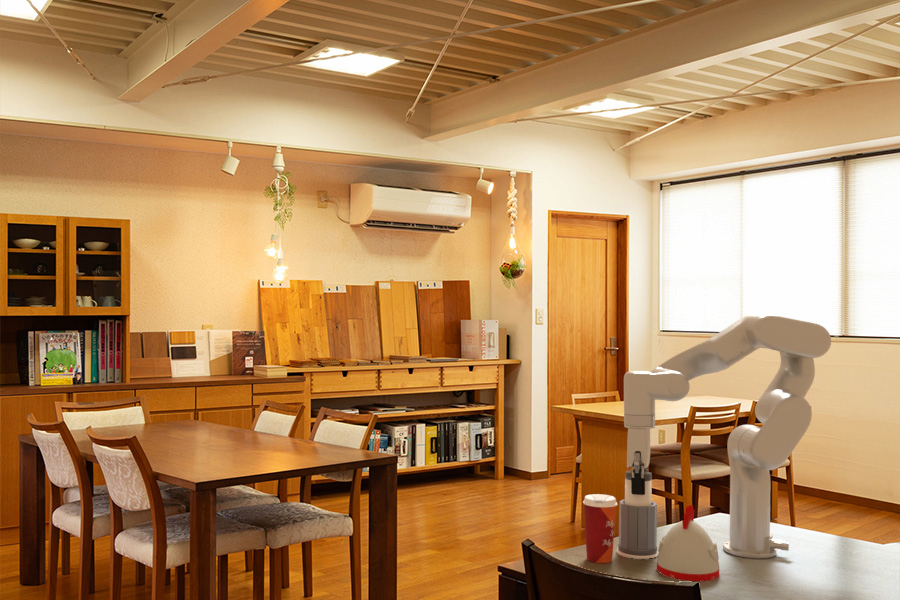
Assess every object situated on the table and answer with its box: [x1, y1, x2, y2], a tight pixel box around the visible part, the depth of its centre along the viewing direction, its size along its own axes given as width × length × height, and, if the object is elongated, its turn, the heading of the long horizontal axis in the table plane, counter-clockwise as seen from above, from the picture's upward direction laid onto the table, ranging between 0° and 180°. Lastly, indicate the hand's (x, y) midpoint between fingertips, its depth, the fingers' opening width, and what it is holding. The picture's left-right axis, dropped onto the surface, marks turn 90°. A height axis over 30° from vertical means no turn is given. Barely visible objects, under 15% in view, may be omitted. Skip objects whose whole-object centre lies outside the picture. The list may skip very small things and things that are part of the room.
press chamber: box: [616, 498, 659, 560], centre depth 206 cm, size 10×10×12 cm
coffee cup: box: [582, 493, 618, 564], centre depth 201 cm, size 8×8×15 cm
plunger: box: [624, 469, 653, 506], centre depth 206 cm, size 6×6×17 cm
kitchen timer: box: [656, 504, 720, 582], centre depth 193 cm, size 14×14×15 cm
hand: (640, 490), depth 207 cm, fingers open, 9 cm apart
